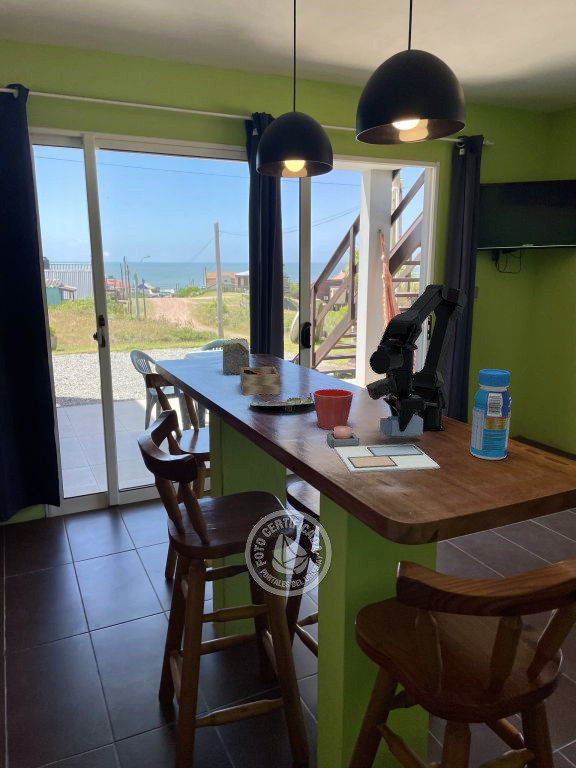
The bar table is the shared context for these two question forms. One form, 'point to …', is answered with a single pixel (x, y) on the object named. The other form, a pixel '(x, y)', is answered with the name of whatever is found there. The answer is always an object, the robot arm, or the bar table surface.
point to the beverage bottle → (491, 415)
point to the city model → (285, 402)
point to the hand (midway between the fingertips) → (398, 429)
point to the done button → (342, 432)
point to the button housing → (342, 441)
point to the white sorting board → (384, 458)
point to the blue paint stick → (392, 426)
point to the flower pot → (332, 407)
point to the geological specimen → (235, 355)
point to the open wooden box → (260, 381)
